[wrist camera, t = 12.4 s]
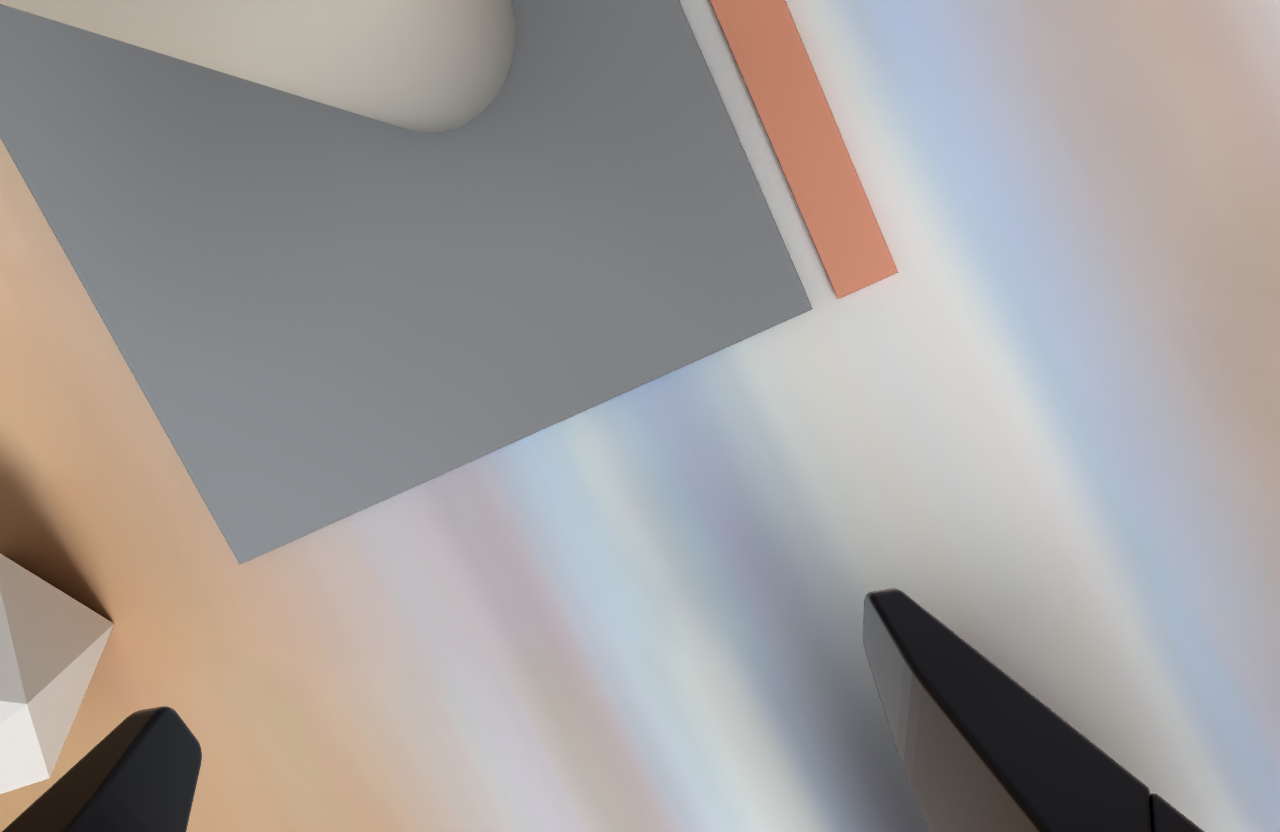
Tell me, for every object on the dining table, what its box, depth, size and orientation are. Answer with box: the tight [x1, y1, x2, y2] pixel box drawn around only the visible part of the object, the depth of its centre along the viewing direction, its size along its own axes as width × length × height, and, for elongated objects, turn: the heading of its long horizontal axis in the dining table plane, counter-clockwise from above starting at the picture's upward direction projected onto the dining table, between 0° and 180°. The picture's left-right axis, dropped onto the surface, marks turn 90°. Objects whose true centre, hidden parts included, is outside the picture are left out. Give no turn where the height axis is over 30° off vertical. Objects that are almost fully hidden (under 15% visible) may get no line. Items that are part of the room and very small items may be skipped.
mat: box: [0, 0, 812, 564], centre depth 21 cm, size 20×22×1 cm
